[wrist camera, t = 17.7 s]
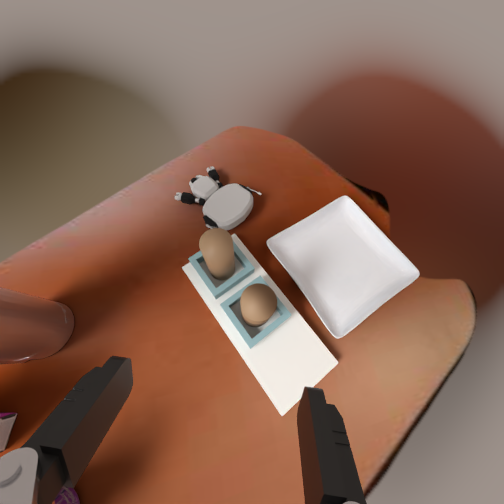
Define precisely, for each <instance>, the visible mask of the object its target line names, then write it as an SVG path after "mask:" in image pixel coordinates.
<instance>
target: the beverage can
mask: <svg viewBox="0 0 504 504" xmlns="http://www.w3.org/2000/svg"><path fill="white" fill-rule="evenodd" d="M55 504H80V502H79V498H78V495H77V493H76V492H75V490H74V489H73V488H69V487H64V486H63V487H62V489H61V490H60V492H59V493H58V495H57V496H56V498H55Z"/></svg>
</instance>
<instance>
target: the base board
mask: <svg viewBox="0 0 504 504" xmlns="http://www.w3.org/2000/svg"><path fill="white" fill-rule="evenodd" d="M199 248H200V250H201V251H199V252H197V253H196V254H194V255H193V256H191V257H190V258H188V259H189V261H190V262H189V263H188V264H186V265H185V266H183V267H182V269H183V270H184V272H185V273H186V275H187V276H188V278H189V279H190V281H191V282H192V284H193V285H194V287H195V288H196V290H197V291H198V293H199V294H200V295H201V297H202V298H203V300H204V301H205V303H206V304H207V306H208V307H209V309H210V310H211V312H212V313H213V315H214V316H215V318H216V319H217V321H218V322H219V324H220V325H221V327H222V328H223V330H224V331H225V333H226V334H227V336H228V337H229V339H230V340H231V342H232V343H233V345H234V346H235V347H236V349H237V350H238V352H239V353H240V355H241V356H242V358H243V359H244V361H245V362H246V364H247V365H248V367H249V368H250V370H251V371H252V373H253V374H254V376H255V377H256V379H257V380H258V382H259V383H260V385H261V386H262V388H263V389H264V391H265V392H266V394H267V395H268V397H269V398H270V400H271V401H272V402H273V404H274V405H275V407H276V408H277V410H278V411H279V413H280V414H281V416H283V415H284V414H285V413H286V412H287V411H288V410H289V409H290V408H291V407H292V406H294V405H295V404H296V403H297V402H298V401H299V400H300V399H301V397H302V394H303V390H304V387H305V386H306V387H314V386H315V385H316V384H317V383H318V382H319V381H320V380H321V379H322V378H323V377H324V376H325V375H326V374H327V373H328V372H329V371H331V370H332V369H333V368H334V367H335V366H336V365H337V364H338V361H337V360H336V359H335V358H334V356H333V355H332V354H331V353H330V351H329V350H328V349H327V348H326V346H325V345H324V344H323V343H322V341H321V340H320V339H319V338H318V336H317V335H316V334H315V333H314V331H313V330H312V329H311V328H310V326H309V325H308V324H307V323H306V321H305V320H304V319H303V318H302V316H301V315H300V314H299V313H298V311H297V310H296V309H295V308H294V306H293V305H292V304H291V303H290V301H289V300H288V299H287V298H286V297H285V295H284V294H283V293H282V292H281V290H280V289H279V288H278V287H277V285H276V284H275V283H274V282H273V280H272V279H271V278H270V277H269V275H268V274H267V273H266V272H265V270H264V269H263V268H262V267H261V265H260V264H259V263H258V262H257V260H256V259H255V258H254V257H253V255H252V254H251V253H250V252H249V250H248V249H247V248H246V247H245V245H244V244H243V243H242V242H241V240H240V239H239V238H238V237H237V235H236V234H233V235H230V234H229V233H228V232H227V231H226V230H224V229H221V228H213V229H210V230H207V231H206V232H205V233H203V235H202V236H201V238H200V240H199ZM256 283H261V284H265V285H267V286H269V287H270V288H271V289H272V290H273V291H274V292H275V294H276V297H277V308H276V310H275V312H274V314H273V315H272V316H271V317H270V318H269V319H268V321H267V322H266V323H265V324H264V325H262V326H260V327H251V326H249V325H247V324H246V323H245V322H244V320H243V318H242V313H241V305H240V299H241V295H242V293H243V291H244V290H245V289H246V288H247V287H248V286H250V285H252V284H256Z"/></svg>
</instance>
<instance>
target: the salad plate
mask: <svg viewBox="0 0 504 504" xmlns="http://www.w3.org/2000/svg"><path fill="white" fill-rule="evenodd" d="M266 244H267V246H268V248H269V249H270V251H271V252H272V253H273V255H274V256H275V257H276V258H277V260H278V261H279V262H280V263H281V265H282V266H283V267H284V268H285V269H286V271H287V272H288V273H289V275H290V276H291V277H292V279H293V280H294V281H295V283H296V284H297V285H298V287H299V288H300V289H301V291H302V292H303V294H304V295H305V296H306V298H307V299H308V301H309V302H310V304H311V305H312V307H313V308H314V310H315V311H316V313H317V315H318V316H319V318H320V319H321V321H322V322H323V324H324V325H325V326H326V328H327V329H328V331H329V332H330V333H331V334H332V335H333V336H334V337H335V338H342V337H343V336H345V335H346V334H348V333H349V332H350V331H352V330H353V329H354V328H355V327H356V326H358V325H359V324H360V323H361V322H362V321H364V320H365V319H366V318H367V317H368V316H370V315H371V314H372V313H373V312H374V311H375V310H377V309H378V308H379V307H380V306H381V305H383V304H384V303H385V302H387V301H388V300H389V299H391V298H392V297H393V296H394V295H396V294H397V293H399V292H400V291H401V290H403V289H404V288H405V287H407V286H408V285H410V284H411V283H412V282H414V281H415V280H416V279H417V278H418V277H419V275H420V274H419V271H418V269H417V268H416V267H415V266H414V265H413V264H412V263H411V261H410V260H409V259H408V258H407V257H406V256H405V255H404V254H403V253H402V252H401V251H400V250H399V249H398V248H397V247H396V246H395V245H394V244H393V243H392V242H391V241H390V240H389V238H388V237H387V236H386V235H385V234H384V233H383V232H382V231H381V230H380V229H379V228H378V227H377V226H376V225H375V224H374V223H373V222H372V221H371V220H370V218H369V217H368V216H367V215H366V214H365V213H364V212H363V211H362V210H361V209H360V208H359V206H358V205H357V204H356V203H355V202H354V201H353V200H352V199H351V198H349V197H348V196H342V197H340V198H338V199H336V200H334V201H333V202H331V203H329V204H328V205H326V206H325V207H323V208H321V209H320V210H318V211H317V212H315V213H313V214H312V215H310V216H308V217H307V218H305V219H303V220H301V221H300V222H298V223H296V224H294V225H292V226H291V227H289V228H287V229H285V230H283V231H282V232H280V233H278V234H276V235H274V236H273V237H271V238H269V239H268V240H267V242H266Z"/></svg>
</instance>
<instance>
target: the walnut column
mask: <svg viewBox="0 0 504 504" xmlns="http://www.w3.org/2000/svg"><path fill="white" fill-rule="evenodd" d="M240 305H241V313H242V318H243V320H244V322H245V323H246V324H247V325H249V326H251V327H260V326H262V325H264V324H265V323H266V322H267V321H268V319H269V318H270V317H271V316H272V315H273V314H274V312H275V310H276V308H277V297H276V294H275V292H274V291H273V290H272V289H271V288H270V287H269V286H267V285H265V284H261V283H256V284H252V285H250V286H248V287H247V288H246V289H245V290H244V291H243V293H242V295H241V299H240Z"/></svg>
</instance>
